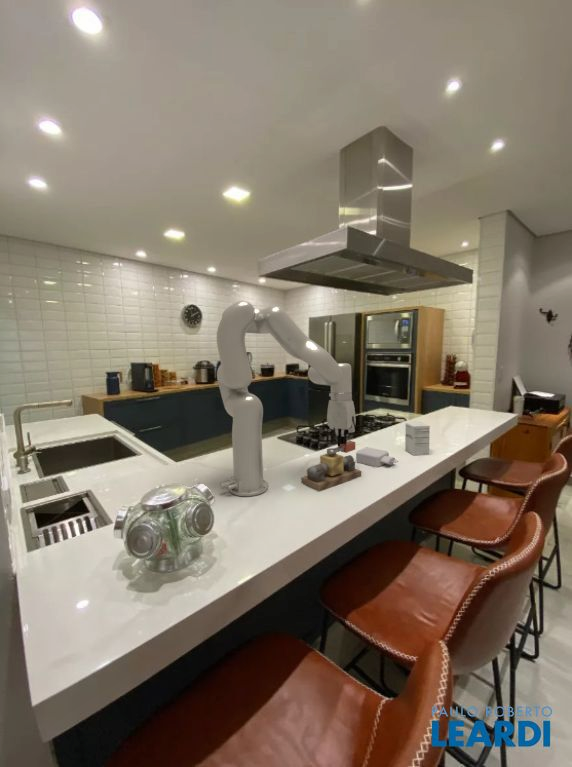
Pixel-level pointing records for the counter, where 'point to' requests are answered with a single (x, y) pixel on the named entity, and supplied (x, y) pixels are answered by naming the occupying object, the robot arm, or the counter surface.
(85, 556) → the counter surface
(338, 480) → the pipe board
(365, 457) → the charger
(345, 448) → the valve lever
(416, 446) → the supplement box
